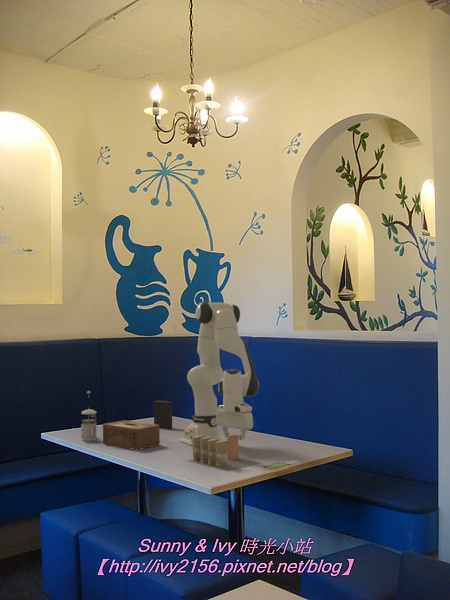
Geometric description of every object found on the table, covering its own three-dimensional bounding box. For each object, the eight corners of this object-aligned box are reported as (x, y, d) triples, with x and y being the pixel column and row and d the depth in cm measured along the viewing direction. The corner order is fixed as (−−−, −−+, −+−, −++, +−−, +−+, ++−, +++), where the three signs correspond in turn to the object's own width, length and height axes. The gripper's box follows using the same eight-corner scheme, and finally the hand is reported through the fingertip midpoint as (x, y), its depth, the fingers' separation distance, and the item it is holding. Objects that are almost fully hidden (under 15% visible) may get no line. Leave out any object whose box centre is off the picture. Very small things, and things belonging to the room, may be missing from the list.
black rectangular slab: (173, 428, 361) (172, 401, 361) (168, 429, 357) (168, 402, 357) (157, 426, 366) (157, 400, 367) (153, 427, 363) (153, 401, 363)
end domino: (227, 459, 276) (227, 436, 276) (236, 457, 279) (235, 434, 279) (230, 459, 275) (229, 436, 275) (238, 457, 278) (238, 434, 278)
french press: (76, 440, 328) (75, 391, 329) (86, 436, 339) (85, 389, 340) (93, 441, 326) (93, 392, 326) (103, 436, 337) (102, 389, 337)
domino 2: (200, 462, 271) (200, 438, 271) (209, 460, 274) (209, 437, 274) (202, 462, 270) (202, 439, 270) (211, 460, 273) (211, 437, 273)
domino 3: (208, 464, 267) (207, 440, 267) (217, 462, 270) (216, 438, 271) (210, 464, 266) (210, 440, 266) (219, 462, 269) (219, 439, 269)
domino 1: (193, 460, 274) (192, 437, 275) (201, 458, 278) (201, 435, 278) (195, 460, 273) (195, 437, 273) (204, 459, 277) (204, 435, 277)
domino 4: (215, 466, 263) (215, 441, 264) (224, 464, 267) (224, 440, 267) (218, 466, 262) (218, 442, 262) (227, 464, 265) (227, 440, 266)
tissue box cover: (103, 443, 319) (102, 423, 319) (125, 439, 330) (124, 420, 330) (137, 450, 302) (137, 429, 303) (159, 445, 313) (159, 425, 314)
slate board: (186, 463, 274) (186, 460, 274) (221, 455, 287) (221, 453, 287) (227, 473, 254) (227, 471, 254) (262, 465, 268) (262, 463, 268)
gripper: (212, 405, 283) (213, 436, 282) (244, 409, 268) (245, 442, 267) (222, 403, 287) (223, 434, 287) (254, 407, 272) (255, 439, 272)
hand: (234, 438), depth 277 cm, fingers open, 8 cm apart
